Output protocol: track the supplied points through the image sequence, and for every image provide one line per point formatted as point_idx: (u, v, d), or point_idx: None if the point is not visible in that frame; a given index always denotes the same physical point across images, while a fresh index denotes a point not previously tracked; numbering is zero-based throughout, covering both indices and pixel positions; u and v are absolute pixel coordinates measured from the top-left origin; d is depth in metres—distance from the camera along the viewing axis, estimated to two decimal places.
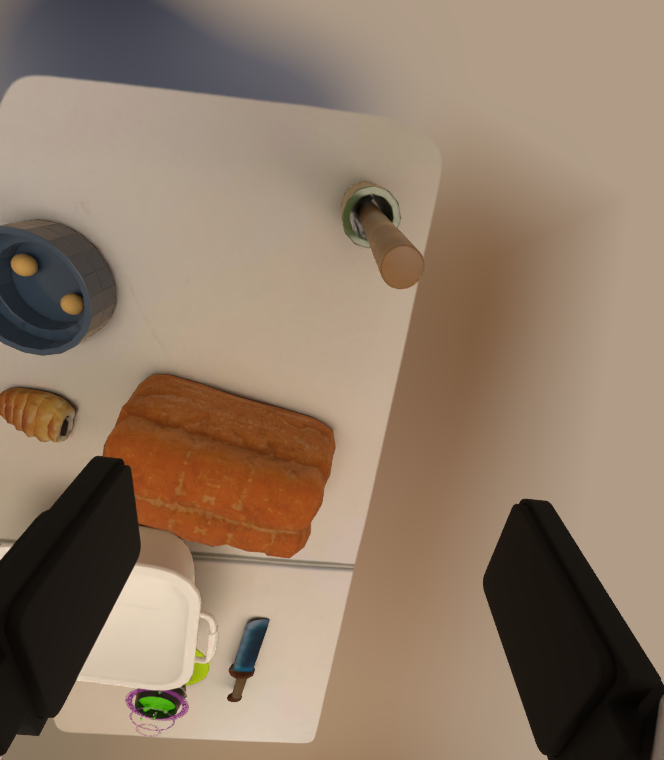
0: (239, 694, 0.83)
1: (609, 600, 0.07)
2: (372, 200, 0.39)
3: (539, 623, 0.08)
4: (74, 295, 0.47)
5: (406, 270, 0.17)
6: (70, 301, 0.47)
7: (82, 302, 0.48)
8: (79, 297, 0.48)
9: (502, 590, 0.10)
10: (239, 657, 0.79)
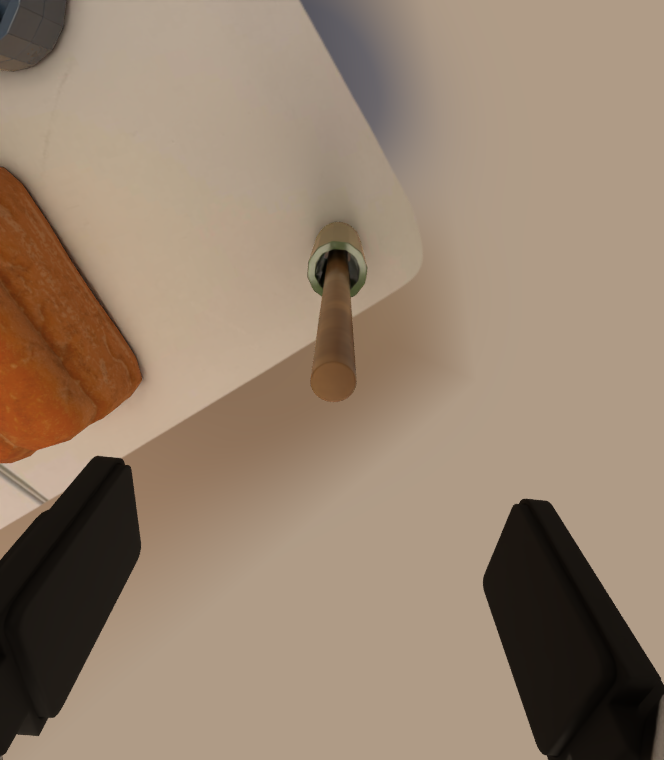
0: None
1: (609, 600, 0.07)
2: (348, 253, 0.38)
3: (539, 623, 0.08)
4: None
5: (334, 387, 0.16)
6: None
7: None
8: None
9: (502, 590, 0.10)
10: None
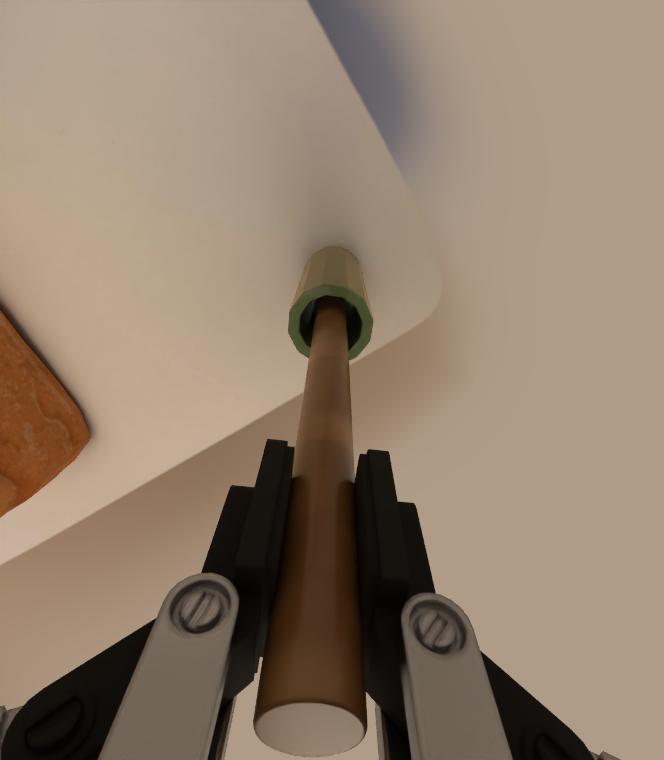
0: None
1: (398, 525, 0.08)
2: None
3: None
4: None
5: (311, 738, 0.07)
6: None
7: None
8: None
9: None
10: None
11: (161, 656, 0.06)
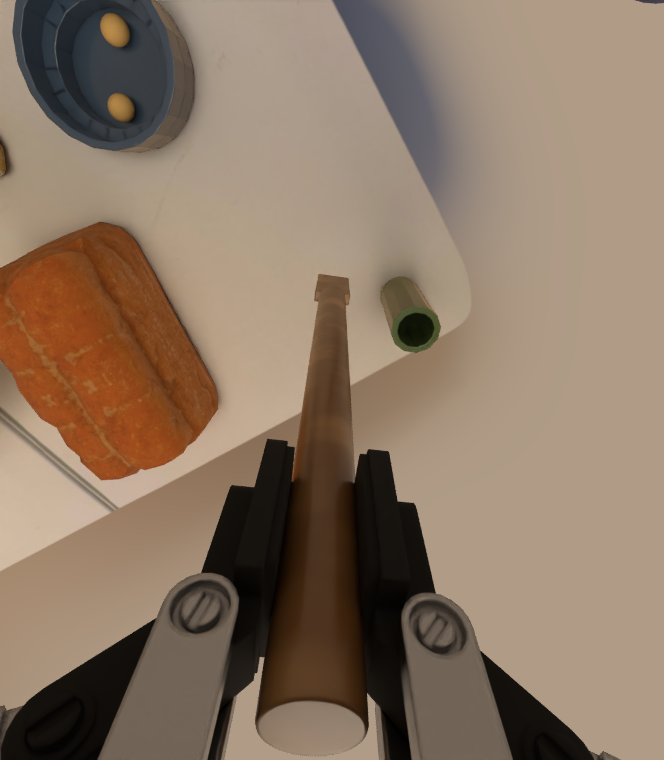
0: None
1: (398, 525, 0.08)
2: (346, 295, 0.29)
3: None
4: (132, 104, 0.41)
5: (313, 737, 0.07)
6: (124, 106, 0.40)
7: (131, 116, 0.41)
8: (134, 110, 0.41)
9: None
10: None
11: (161, 656, 0.06)
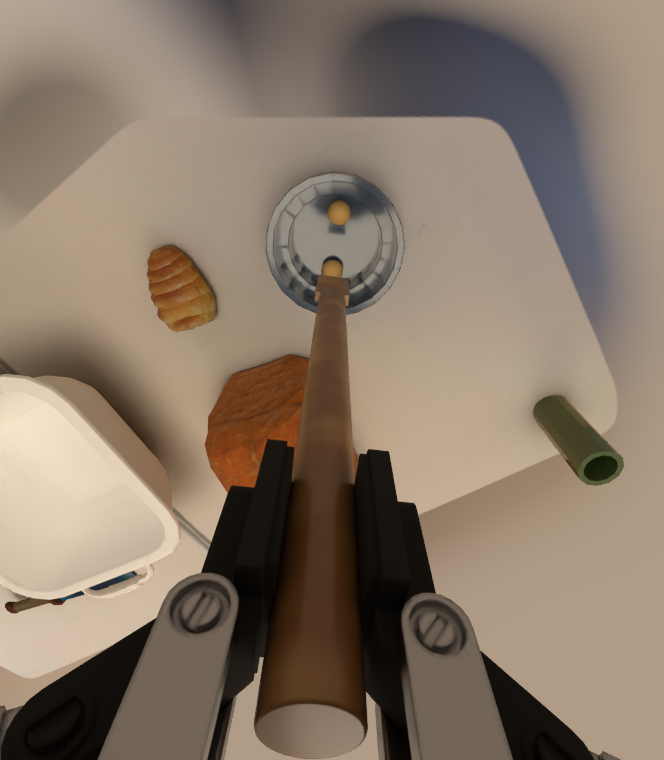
0: (23, 609, 0.73)
1: (398, 525, 0.08)
2: (346, 296, 0.29)
3: (357, 552, 0.09)
4: (342, 268, 0.46)
5: (312, 739, 0.07)
6: (338, 272, 0.45)
7: None
8: (342, 272, 0.46)
9: None
10: None
11: (161, 656, 0.06)
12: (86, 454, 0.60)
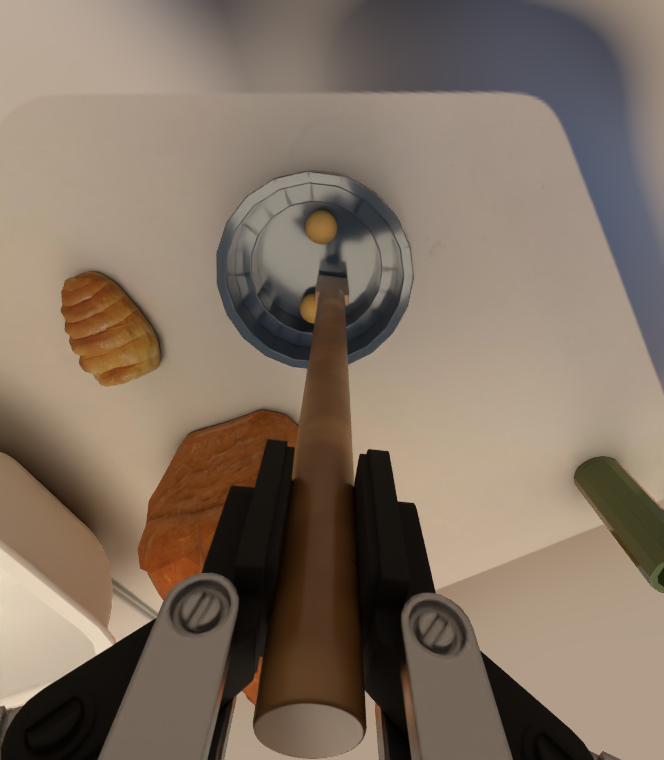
0: None
1: (398, 524, 0.08)
2: (346, 296, 0.29)
3: (357, 552, 0.09)
4: None
5: (311, 739, 0.07)
6: None
7: None
8: None
9: None
10: None
11: (161, 656, 0.06)
12: None
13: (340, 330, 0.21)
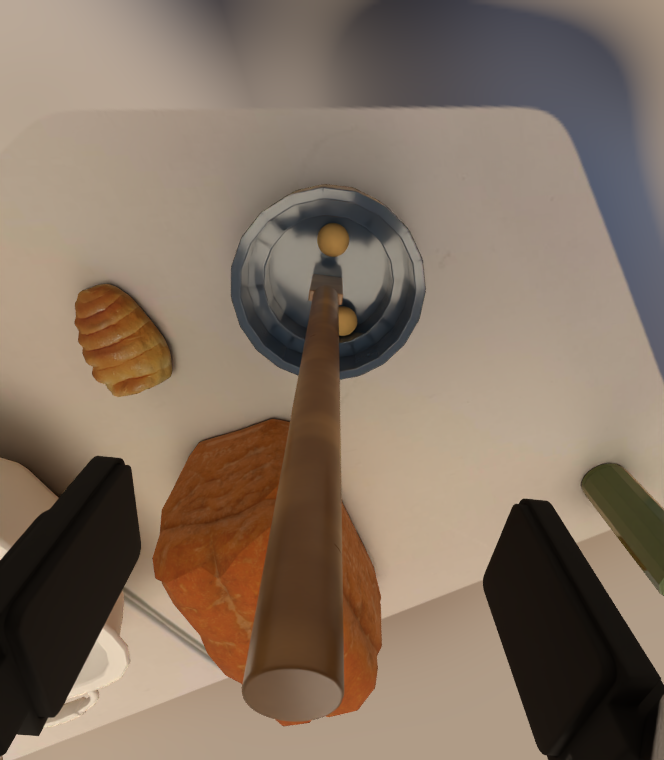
0: None
1: (609, 600, 0.07)
2: (339, 295, 0.29)
3: (539, 623, 0.08)
4: None
5: (294, 702, 0.07)
6: (355, 316, 0.34)
7: None
8: None
9: (502, 591, 0.10)
10: None
11: None
12: None
13: (332, 329, 0.22)
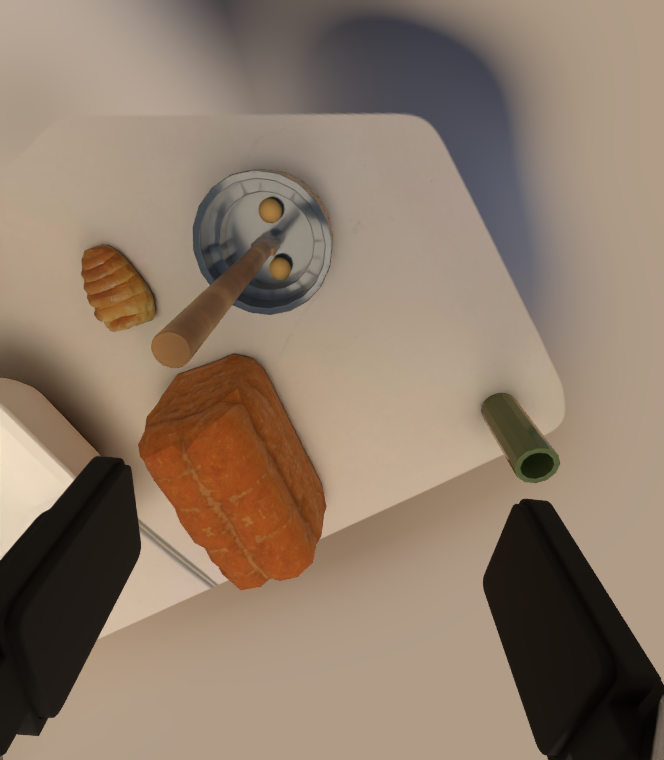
0: None
1: (609, 600, 0.07)
2: (271, 249, 0.41)
3: (539, 623, 0.08)
4: None
5: (172, 354, 0.19)
6: (289, 265, 0.46)
7: None
8: None
9: (502, 590, 0.10)
10: None
11: None
12: None
13: (250, 260, 0.33)
